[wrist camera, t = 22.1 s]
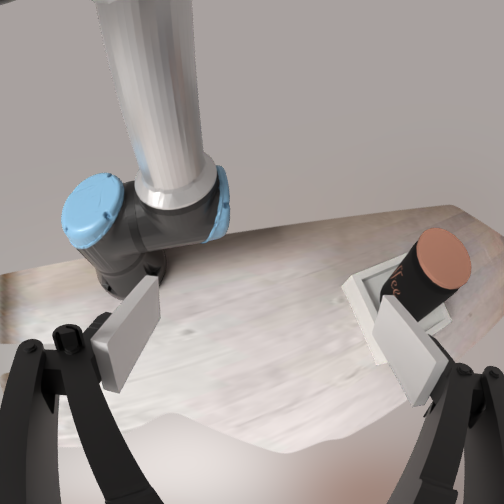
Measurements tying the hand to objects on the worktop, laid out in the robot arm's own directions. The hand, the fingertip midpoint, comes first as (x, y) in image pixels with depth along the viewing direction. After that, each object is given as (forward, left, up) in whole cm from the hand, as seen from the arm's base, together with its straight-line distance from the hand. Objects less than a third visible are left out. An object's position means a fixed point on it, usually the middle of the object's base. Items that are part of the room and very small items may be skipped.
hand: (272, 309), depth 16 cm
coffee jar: (+1, +32, -34) cm, 46 cm away
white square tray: (+1, +32, -38) cm, 50 cm away
